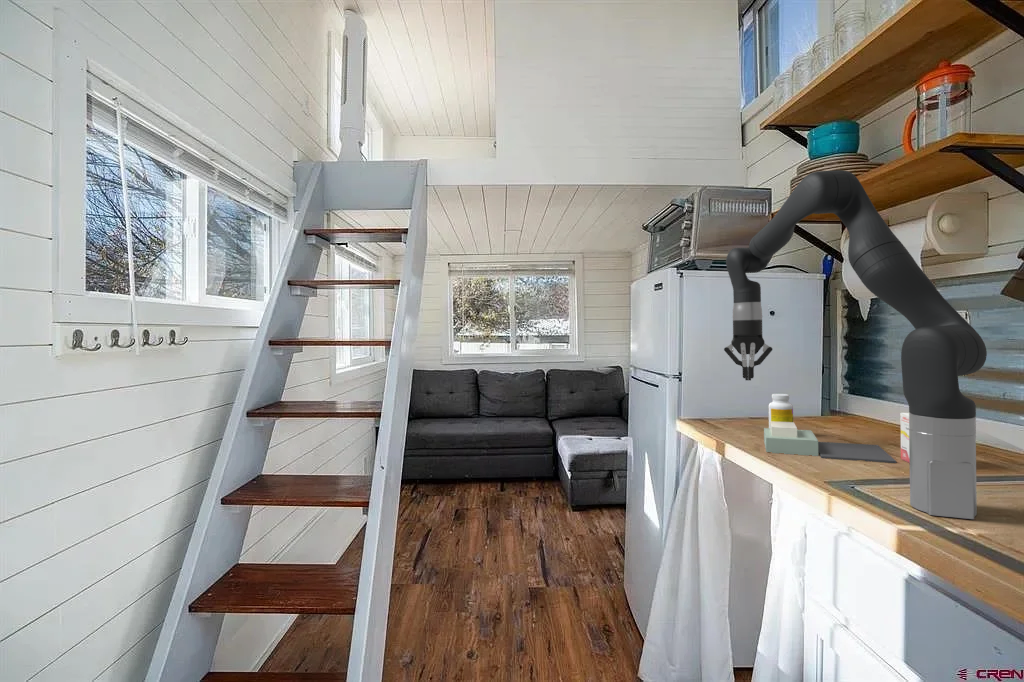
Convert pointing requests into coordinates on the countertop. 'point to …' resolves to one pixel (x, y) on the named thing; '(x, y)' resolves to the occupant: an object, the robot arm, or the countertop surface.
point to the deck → (792, 443)
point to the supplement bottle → (780, 409)
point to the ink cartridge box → (904, 436)
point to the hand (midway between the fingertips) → (748, 380)
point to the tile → (783, 429)
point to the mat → (853, 452)
